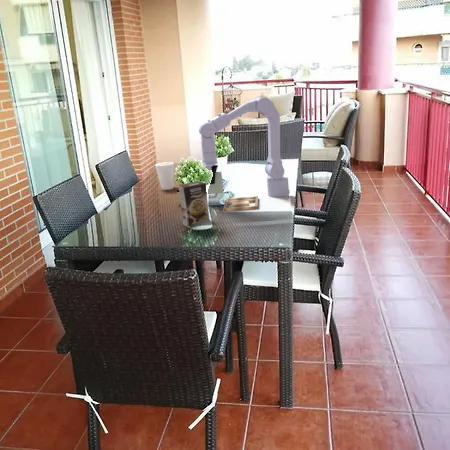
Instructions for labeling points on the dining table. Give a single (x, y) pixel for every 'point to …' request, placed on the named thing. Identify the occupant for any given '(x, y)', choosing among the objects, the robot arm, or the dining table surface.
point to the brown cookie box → (194, 203)
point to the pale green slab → (216, 185)
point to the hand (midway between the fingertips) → (212, 183)
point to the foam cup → (166, 175)
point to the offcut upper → (240, 204)
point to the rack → (230, 200)
